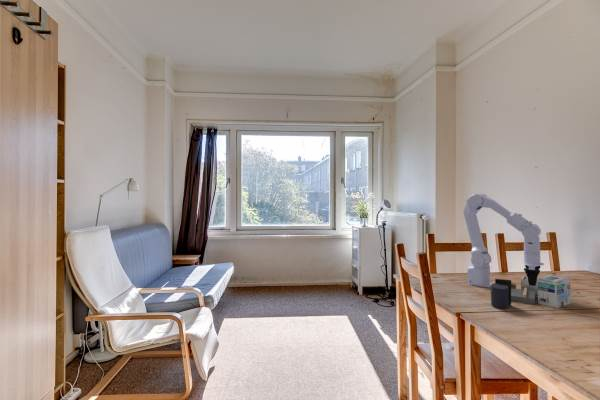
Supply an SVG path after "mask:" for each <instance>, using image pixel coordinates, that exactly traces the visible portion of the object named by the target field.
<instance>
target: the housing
mask: <svg viewBox="0 0 600 400" xmlns="http://www.w3.org/2000/svg"><path fill="white" fill-rule="evenodd" d="M524 288H527V291H534V292H535V295H538V278H537V282H536V286H531V285H529V282H528V278H527V276H521V277H520V289H521V290H524Z"/></svg>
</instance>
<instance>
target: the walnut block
mask: <svg viewBox="0 0 600 400" xmlns="http://www.w3.org/2000/svg"><path fill="white" fill-rule="evenodd" d="M516 288H517V282H512V281H511V289H516Z"/></svg>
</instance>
